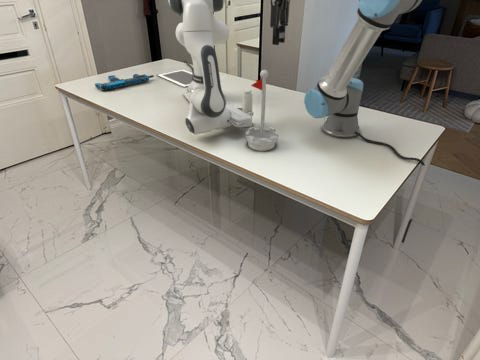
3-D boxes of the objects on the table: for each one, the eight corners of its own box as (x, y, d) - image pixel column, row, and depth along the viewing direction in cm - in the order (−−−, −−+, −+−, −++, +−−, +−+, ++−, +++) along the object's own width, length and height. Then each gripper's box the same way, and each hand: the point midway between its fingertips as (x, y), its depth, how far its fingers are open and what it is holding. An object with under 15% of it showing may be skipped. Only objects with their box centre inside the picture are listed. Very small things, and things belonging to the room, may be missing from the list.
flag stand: (269, 135, 146) (272, 63, 129) (283, 148, 135) (289, 72, 119) (241, 140, 142) (241, 67, 125) (253, 154, 132) (254, 76, 115)
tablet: (157, 75, 221) (157, 74, 221) (183, 69, 232) (183, 69, 232) (184, 87, 201) (183, 86, 200) (211, 80, 212) (211, 79, 211)
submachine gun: (139, 68, 225) (158, 74, 208) (140, 74, 226) (158, 80, 210) (87, 78, 206) (103, 86, 189) (89, 84, 208) (104, 92, 191)
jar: (243, 122, 157) (243, 88, 148) (252, 123, 157) (253, 88, 148) (241, 126, 154) (241, 91, 145) (250, 127, 153) (251, 92, 144)
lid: (275, 38, 141) (275, 33, 139) (270, 36, 145) (271, 31, 144) (286, 37, 142) (286, 32, 141) (281, 35, 146) (282, 30, 145)
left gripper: (235, 118, 137) (262, 111, 143) (210, 103, 151) (236, 97, 157) (235, 133, 140) (262, 125, 146) (211, 117, 155) (236, 110, 161)
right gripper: (283, -21, 140) (279, 39, 153) (262, -19, 127) (260, 46, 140) (299, -21, 137) (295, 40, 149) (280, -19, 124) (277, 48, 137)
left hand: (248, 111), depth 152 cm, fingers closed on jar, 4 cm apart
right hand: (278, 43), depth 145 cm, fingers closed on lid, 5 cm apart
